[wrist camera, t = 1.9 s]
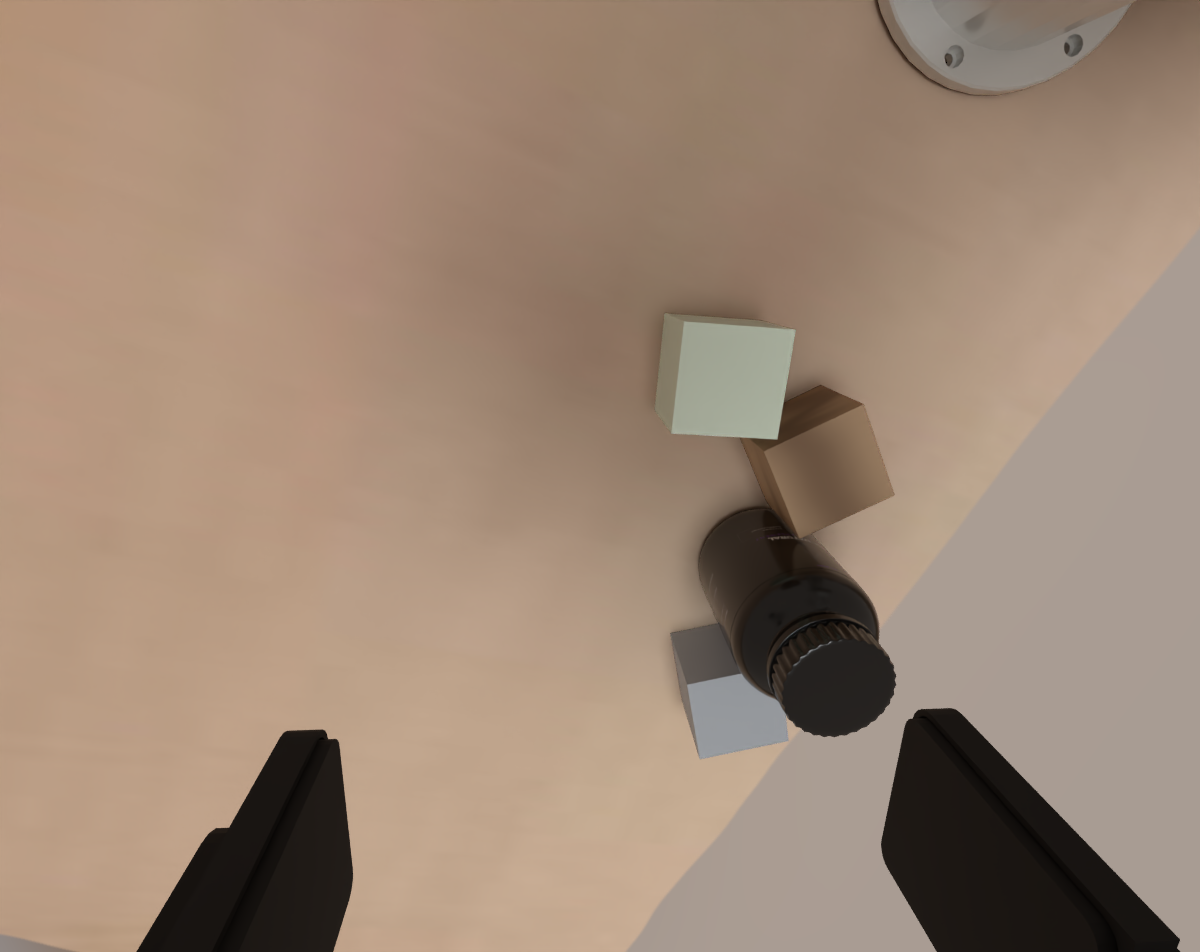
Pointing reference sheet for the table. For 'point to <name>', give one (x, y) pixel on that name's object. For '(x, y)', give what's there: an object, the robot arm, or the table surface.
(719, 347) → the sage cube
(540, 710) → the table surface
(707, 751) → the slate cube
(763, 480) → the walnut cube
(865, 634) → the supplement bottle
